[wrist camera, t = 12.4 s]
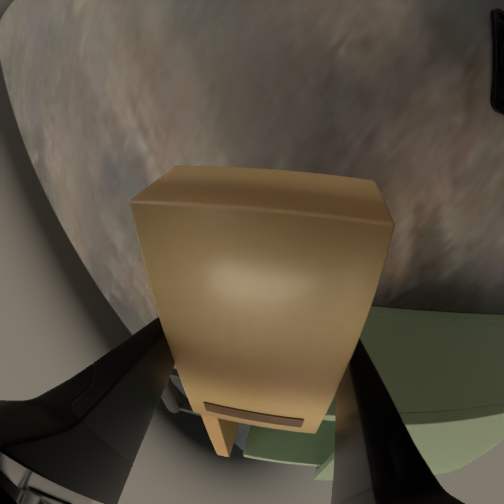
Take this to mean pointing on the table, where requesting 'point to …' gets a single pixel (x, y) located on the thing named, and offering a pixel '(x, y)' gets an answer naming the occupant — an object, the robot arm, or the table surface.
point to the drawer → (264, 435)
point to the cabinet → (439, 381)
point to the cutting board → (262, 285)
